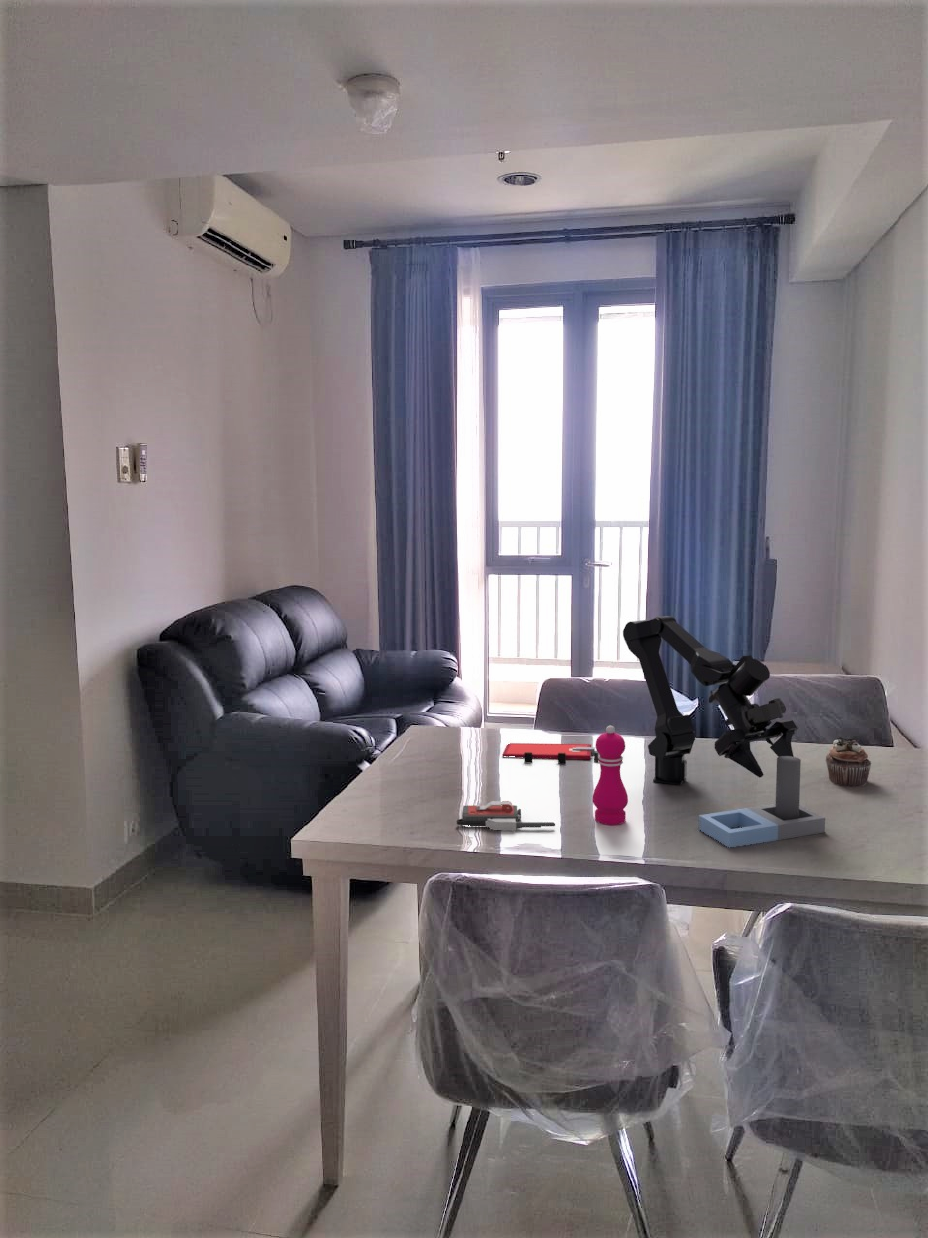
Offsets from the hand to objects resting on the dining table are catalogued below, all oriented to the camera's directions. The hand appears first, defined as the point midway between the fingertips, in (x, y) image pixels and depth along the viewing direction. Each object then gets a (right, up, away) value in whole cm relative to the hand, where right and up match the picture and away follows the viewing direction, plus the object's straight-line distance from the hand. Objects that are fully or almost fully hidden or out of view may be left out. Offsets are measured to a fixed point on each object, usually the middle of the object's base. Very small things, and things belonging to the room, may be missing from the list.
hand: (778, 772), depth 174 cm
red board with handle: (-38, -5, +51) cm, 64 cm away
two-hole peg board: (-4, -11, -3) cm, 12 cm away
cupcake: (+25, -7, +26) cm, 37 cm away
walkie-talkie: (-55, -12, +4) cm, 56 cm away
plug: (+1, -11, -1) cm, 11 cm away
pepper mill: (-33, -11, +5) cm, 35 cm away
